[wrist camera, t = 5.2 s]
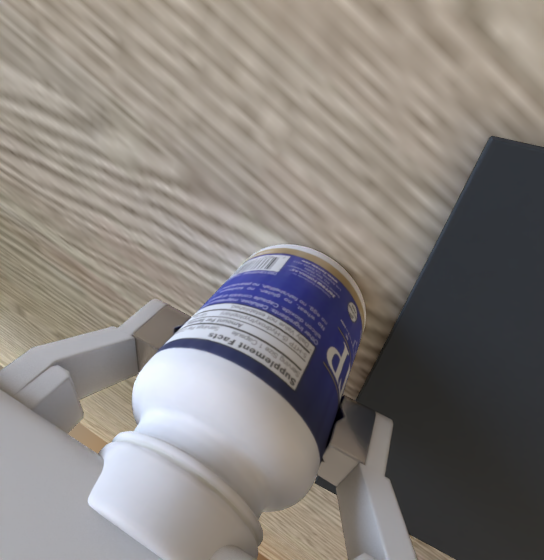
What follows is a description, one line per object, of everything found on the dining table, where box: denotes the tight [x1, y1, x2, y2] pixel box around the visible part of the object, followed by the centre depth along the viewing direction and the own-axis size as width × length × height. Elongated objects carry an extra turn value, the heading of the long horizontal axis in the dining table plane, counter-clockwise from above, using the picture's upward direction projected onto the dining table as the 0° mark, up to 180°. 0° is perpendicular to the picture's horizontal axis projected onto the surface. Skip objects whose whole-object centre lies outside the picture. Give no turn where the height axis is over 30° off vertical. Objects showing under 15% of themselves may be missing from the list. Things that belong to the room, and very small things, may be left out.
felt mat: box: [315, 136, 544, 560], centre depth 12 cm, size 13×20×1 cm, turn 172°
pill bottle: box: [88, 244, 366, 560], centre depth 10 cm, size 5×5×9 cm
